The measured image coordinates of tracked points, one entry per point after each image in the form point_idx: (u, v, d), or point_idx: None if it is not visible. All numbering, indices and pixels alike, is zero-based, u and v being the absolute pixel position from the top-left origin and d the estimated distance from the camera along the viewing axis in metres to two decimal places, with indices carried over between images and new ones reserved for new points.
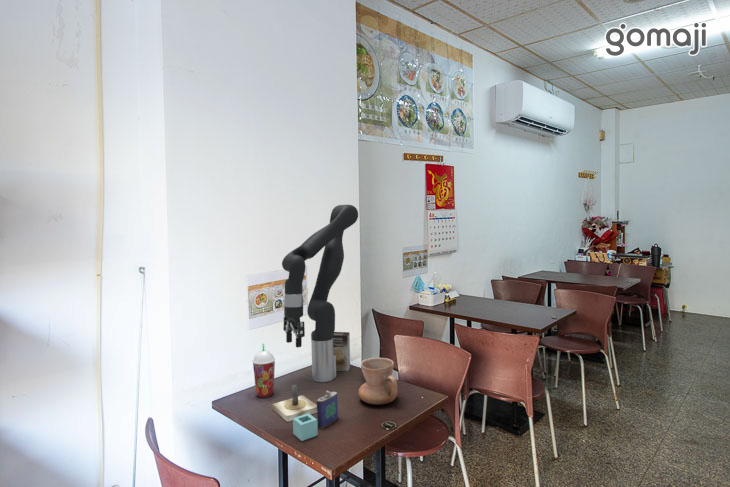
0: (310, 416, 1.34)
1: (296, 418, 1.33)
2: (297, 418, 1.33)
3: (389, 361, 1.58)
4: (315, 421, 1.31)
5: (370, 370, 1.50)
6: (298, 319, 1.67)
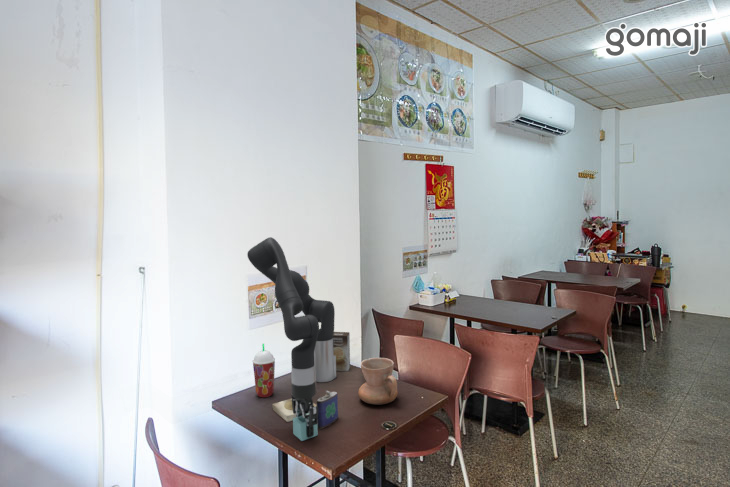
0: None
1: (296, 418, 1.33)
2: (297, 418, 1.33)
3: (389, 361, 1.58)
4: None
5: (370, 370, 1.50)
6: (310, 400, 1.29)
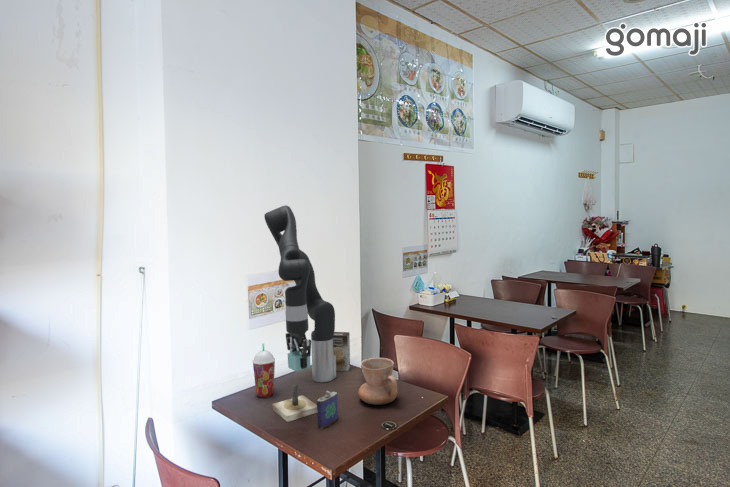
0: None
1: (290, 353, 1.46)
2: (291, 353, 1.46)
3: (389, 361, 1.58)
4: None
5: (370, 370, 1.50)
6: (303, 334, 1.42)
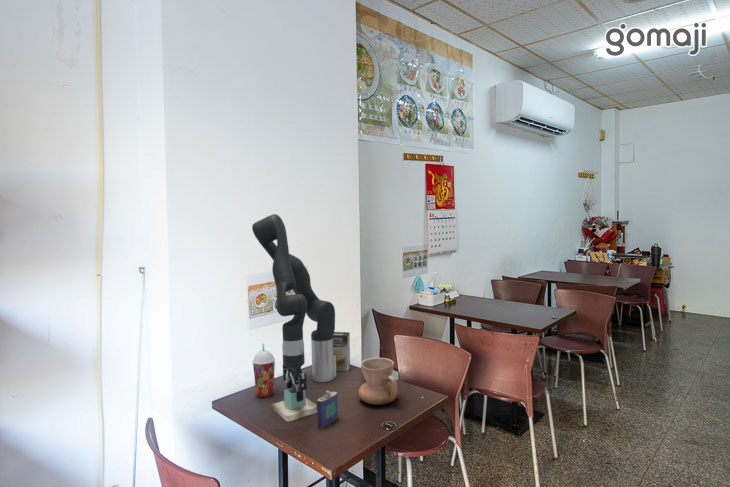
0: None
1: (287, 390, 1.49)
2: (287, 390, 1.49)
3: (389, 361, 1.58)
4: (303, 392, 1.48)
5: (370, 370, 1.50)
6: (299, 369, 1.45)
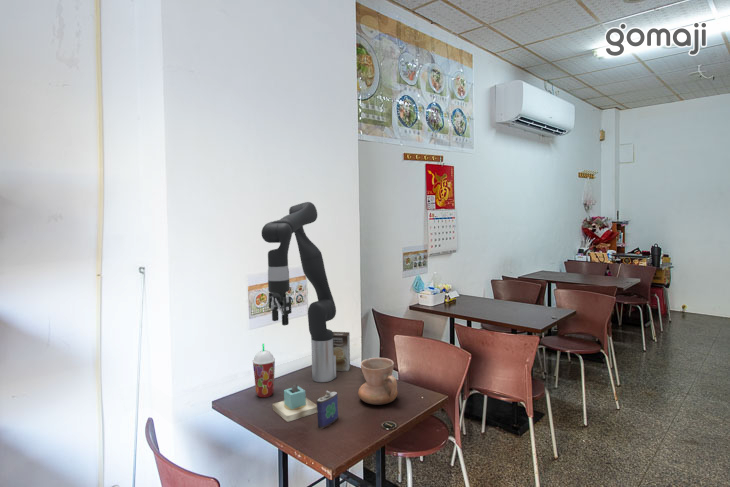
0: (299, 388, 1.50)
1: (287, 390, 1.49)
2: (287, 390, 1.49)
3: (389, 361, 1.58)
4: (303, 392, 1.48)
5: (370, 370, 1.50)
6: (284, 294, 1.50)
